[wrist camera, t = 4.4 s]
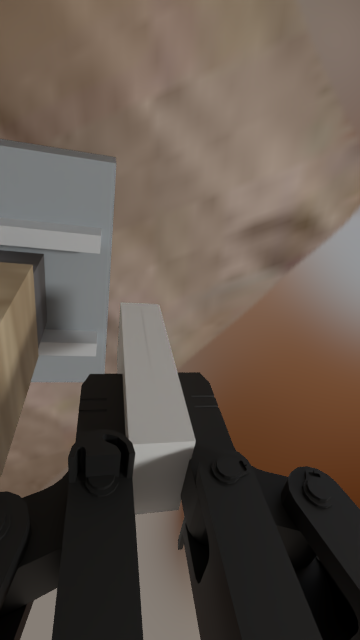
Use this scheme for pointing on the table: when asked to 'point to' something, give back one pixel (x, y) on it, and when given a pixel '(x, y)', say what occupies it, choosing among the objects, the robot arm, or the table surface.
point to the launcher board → (63, 247)
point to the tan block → (18, 335)
